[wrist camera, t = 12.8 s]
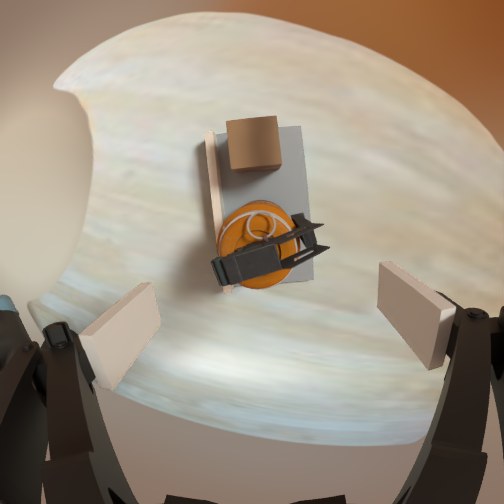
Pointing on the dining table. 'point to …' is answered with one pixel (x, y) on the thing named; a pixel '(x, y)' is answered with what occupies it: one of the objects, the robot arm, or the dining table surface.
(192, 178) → the dining table surface
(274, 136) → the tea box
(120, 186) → the dining table surface
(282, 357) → the dining table surface
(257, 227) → the canister
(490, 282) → the dining table surface
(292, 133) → the shelf board
